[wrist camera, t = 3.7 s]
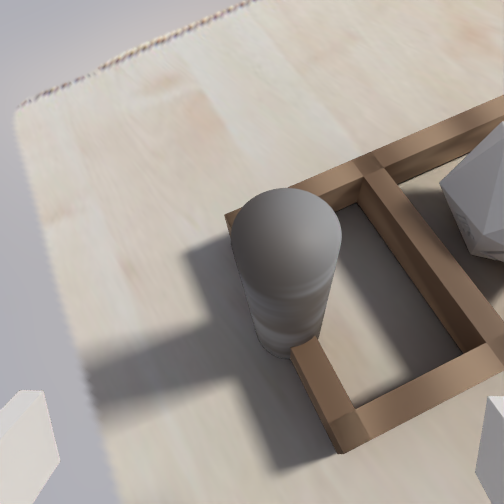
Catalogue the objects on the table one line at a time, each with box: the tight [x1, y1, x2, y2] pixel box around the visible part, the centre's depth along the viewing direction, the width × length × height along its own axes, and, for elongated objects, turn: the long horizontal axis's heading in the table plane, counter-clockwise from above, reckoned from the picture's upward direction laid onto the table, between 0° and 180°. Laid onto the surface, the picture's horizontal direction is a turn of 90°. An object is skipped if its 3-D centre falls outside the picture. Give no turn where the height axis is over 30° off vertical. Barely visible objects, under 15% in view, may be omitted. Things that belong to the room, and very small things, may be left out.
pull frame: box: [224, 95, 504, 454], centre depth 21 cm, size 24×15×12 cm, turn 114°
